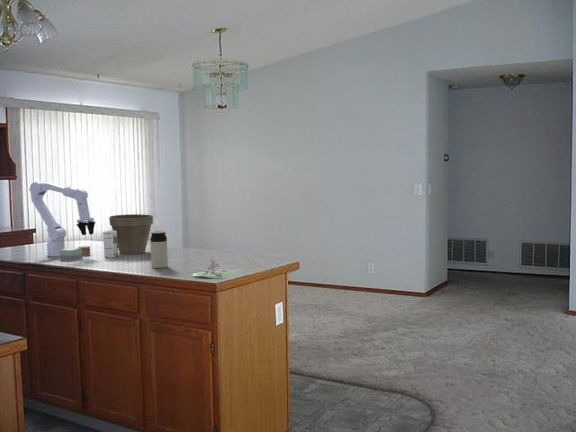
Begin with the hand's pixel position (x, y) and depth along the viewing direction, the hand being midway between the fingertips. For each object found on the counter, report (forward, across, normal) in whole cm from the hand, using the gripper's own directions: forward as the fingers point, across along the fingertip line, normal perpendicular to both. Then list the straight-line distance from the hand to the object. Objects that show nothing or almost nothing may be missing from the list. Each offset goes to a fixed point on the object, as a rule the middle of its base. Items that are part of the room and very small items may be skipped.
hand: (87, 234), depth 360 cm
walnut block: (+12, +4, +2) cm, 13 cm away
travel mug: (+20, -66, +4) cm, 69 cm away
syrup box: (+14, -12, -4) cm, 19 cm away
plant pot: (+15, -10, -20) cm, 27 cm away
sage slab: (+9, -3, +14) cm, 17 cm away
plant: (+25, -104, +1) cm, 107 cm away
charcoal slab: (+12, -3, +14) cm, 19 cm away
